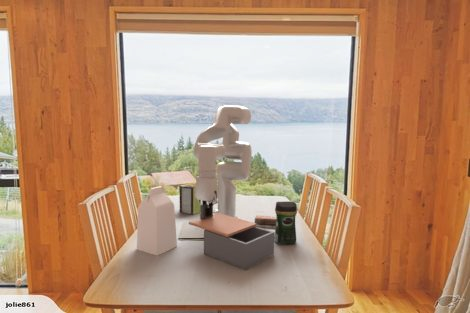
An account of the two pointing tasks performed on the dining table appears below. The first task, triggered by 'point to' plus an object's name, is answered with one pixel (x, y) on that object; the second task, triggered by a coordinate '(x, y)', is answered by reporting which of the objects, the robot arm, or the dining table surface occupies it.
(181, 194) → the protein box
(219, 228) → the lid
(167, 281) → the dining table surface
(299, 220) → the dining table surface
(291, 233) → the coffee jar
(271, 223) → the packaged product
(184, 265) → the dining table surface
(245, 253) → the carton
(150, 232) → the milk
